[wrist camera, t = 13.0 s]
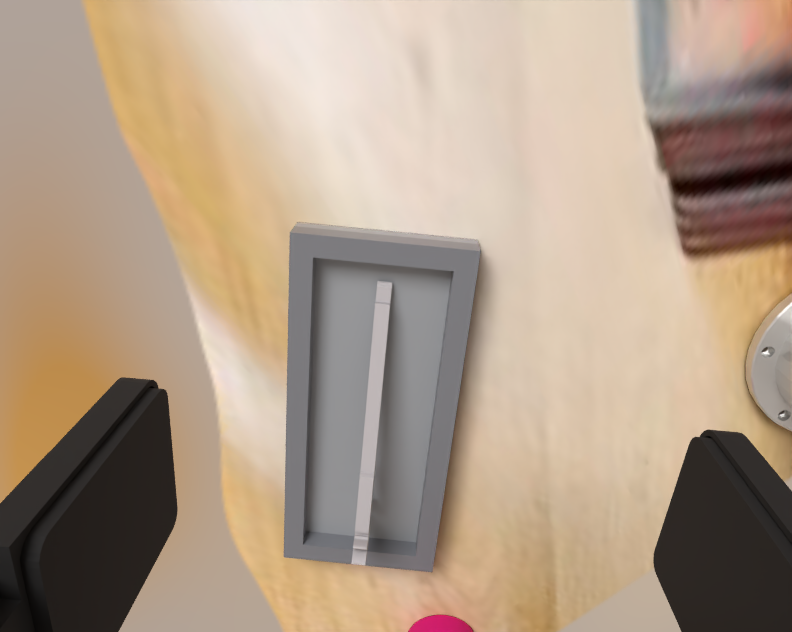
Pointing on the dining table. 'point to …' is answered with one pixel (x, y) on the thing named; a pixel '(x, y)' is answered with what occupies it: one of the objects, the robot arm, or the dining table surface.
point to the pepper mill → (440, 624)
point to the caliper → (372, 422)
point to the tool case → (348, 384)
